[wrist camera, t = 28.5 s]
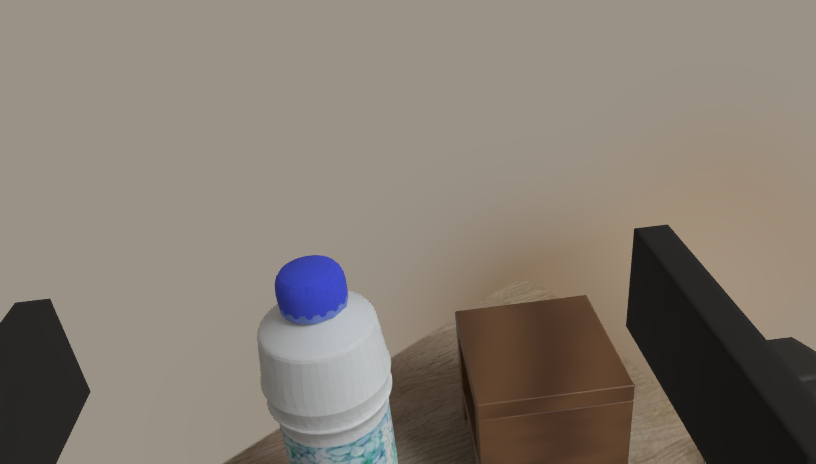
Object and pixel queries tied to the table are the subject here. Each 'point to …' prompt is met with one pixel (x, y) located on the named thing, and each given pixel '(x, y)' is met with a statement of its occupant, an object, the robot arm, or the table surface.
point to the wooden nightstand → (543, 384)
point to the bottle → (326, 368)
